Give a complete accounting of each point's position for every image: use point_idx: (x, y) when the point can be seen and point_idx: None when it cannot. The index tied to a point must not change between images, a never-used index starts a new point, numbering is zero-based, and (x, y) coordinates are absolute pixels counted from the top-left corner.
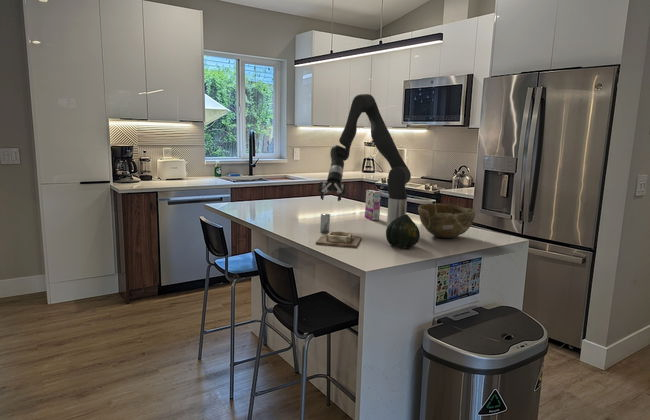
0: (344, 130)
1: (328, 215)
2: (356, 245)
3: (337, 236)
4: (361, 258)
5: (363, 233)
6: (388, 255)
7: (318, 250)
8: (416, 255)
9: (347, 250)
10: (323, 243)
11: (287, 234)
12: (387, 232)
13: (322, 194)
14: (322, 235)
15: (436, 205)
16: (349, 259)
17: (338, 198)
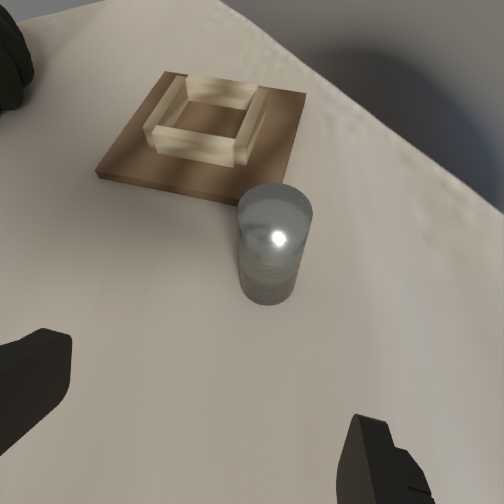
0: None
1: (251, 189)
2: (163, 73)
3: (223, 79)
4: (179, 20)
5: (33, 277)
6: (92, 37)
7: (292, 57)
8: None
9: (202, 61)
10: (277, 91)
11: (458, 214)
12: (17, 37)
13: (396, 491)
14: (281, 171)
15: None
16: (212, 15)
17: (50, 331)
